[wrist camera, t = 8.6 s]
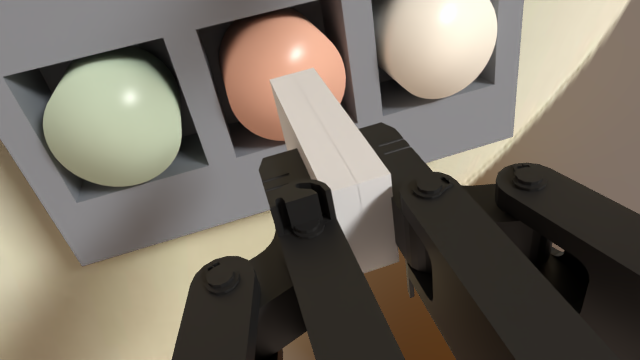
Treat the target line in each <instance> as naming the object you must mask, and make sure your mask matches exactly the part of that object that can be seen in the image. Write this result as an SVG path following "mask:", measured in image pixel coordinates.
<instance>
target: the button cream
mask: <svg viewBox="0 0 640 360" xmlns="http://www.w3.org/2000/svg"><path fill="white" fill-rule="evenodd" d="M371 3H372V13H373V23H374V33H375V43H376V53H377V63H378V66H379V67H380V68H381V69H382V70H384V71H385V72H386V73H387V74H388V75H389V76H391V77H392V78H393V79H394V80H395V81H396V82H398V83H399V84H400V85H401V86H402V87H403V88H405V89H406V90H407V91H408V92H410V93H411V94H413V95H415V96H418V97H420V98H425V99H440V98H444V97H448V96H451V95H453V94H455V93H457V92H459V91H461V90H462V89H464V88H465V87H467V86H468V85H469V84H471V83H472V82H473V81H474V80H475V79H476V78H477V77H478V75H479V74H480V73H481V72H482V70H483V69H484V68H485V66H486V64H487V63H488V61H489V59H490V57H491V55H492V52H493V49H494V46H495V42H496V38H497V18H496V14H495V10H494V8H493V5H492V3H491V2H490V0H371Z"/></svg>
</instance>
